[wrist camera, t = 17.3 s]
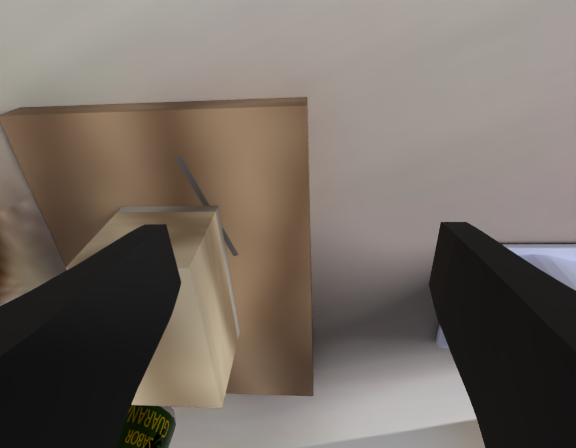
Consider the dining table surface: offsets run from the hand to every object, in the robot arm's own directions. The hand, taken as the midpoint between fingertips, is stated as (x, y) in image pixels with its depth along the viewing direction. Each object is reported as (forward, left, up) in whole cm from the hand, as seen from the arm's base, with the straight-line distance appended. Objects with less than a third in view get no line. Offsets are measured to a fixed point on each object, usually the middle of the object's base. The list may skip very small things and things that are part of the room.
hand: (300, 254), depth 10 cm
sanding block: (+7, +7, -8) cm, 13 cm away
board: (+7, +8, -9) cm, 14 cm away
